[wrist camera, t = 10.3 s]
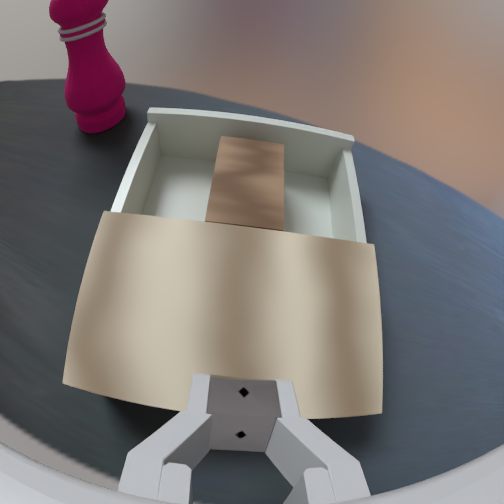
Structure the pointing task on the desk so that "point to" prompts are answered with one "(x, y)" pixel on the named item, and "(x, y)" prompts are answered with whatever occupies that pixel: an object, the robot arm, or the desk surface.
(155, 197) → the tray
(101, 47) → the pepper mill
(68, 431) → the desk surface
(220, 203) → the walnut block
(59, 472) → the robot arm
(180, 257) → the beige box sleeve
